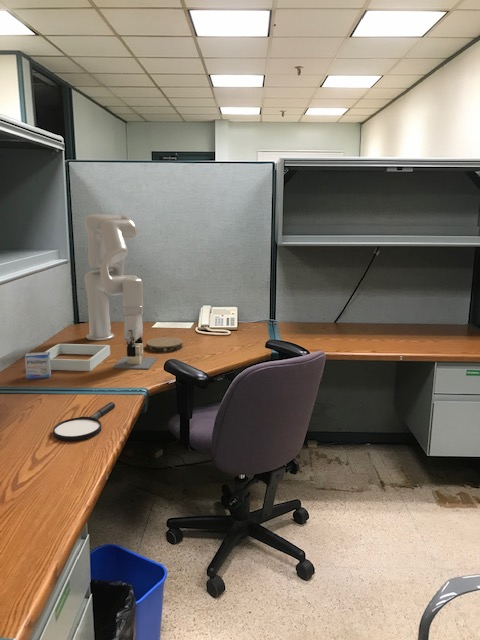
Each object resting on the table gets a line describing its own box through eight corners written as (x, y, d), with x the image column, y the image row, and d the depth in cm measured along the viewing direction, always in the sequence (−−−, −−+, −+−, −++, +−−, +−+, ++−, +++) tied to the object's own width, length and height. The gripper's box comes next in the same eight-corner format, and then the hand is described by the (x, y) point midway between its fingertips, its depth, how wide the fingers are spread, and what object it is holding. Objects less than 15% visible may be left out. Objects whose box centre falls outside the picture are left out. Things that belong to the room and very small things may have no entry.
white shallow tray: (59, 352, 206) (58, 343, 205) (110, 354, 204) (109, 345, 204) (33, 369, 185) (32, 358, 184) (90, 371, 183) (89, 360, 182)
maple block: (131, 360, 195) (130, 343, 194) (143, 360, 195) (142, 343, 193) (127, 363, 190) (126, 346, 189) (139, 364, 190) (139, 346, 189)
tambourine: (187, 345, 221) (187, 338, 221) (174, 354, 206) (173, 347, 206) (155, 342, 225) (155, 336, 225) (139, 351, 210) (139, 344, 210)
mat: (123, 357, 200) (123, 356, 200) (157, 358, 199) (157, 357, 199) (112, 368, 186) (112, 367, 186) (148, 369, 185) (148, 368, 185)
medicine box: (26, 379, 173) (24, 356, 171) (28, 375, 178) (26, 352, 176) (50, 377, 175) (48, 354, 174) (51, 373, 180) (49, 351, 178)
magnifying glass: (130, 410, 148) (130, 404, 148) (84, 446, 125) (83, 438, 125) (94, 406, 151) (94, 399, 151) (43, 439, 129) (42, 432, 128)
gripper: (130, 305, 197) (132, 346, 201) (116, 314, 180) (118, 359, 184) (148, 306, 196) (150, 347, 200) (136, 314, 179) (138, 359, 183)
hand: (135, 352), depth 192 cm, fingers open, 9 cm apart
